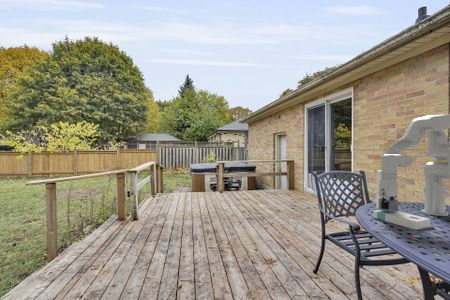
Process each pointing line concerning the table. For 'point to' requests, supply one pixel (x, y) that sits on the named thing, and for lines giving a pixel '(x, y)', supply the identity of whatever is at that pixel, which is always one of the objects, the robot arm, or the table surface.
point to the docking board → (402, 219)
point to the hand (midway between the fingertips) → (388, 208)
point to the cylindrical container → (378, 188)
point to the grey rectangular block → (390, 205)
